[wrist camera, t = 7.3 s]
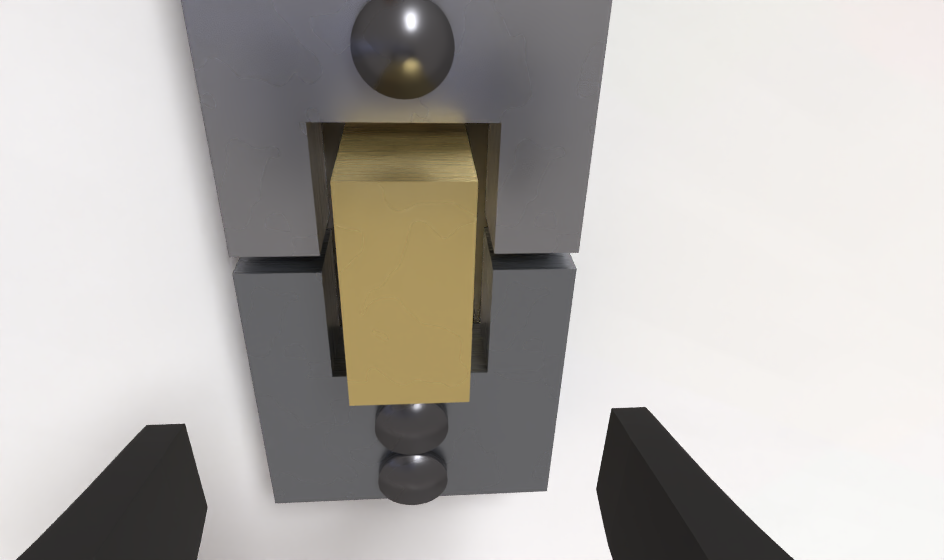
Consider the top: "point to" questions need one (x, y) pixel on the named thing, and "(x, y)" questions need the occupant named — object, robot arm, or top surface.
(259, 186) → the chain ends
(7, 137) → the top surface
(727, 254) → the top surface
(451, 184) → the brass rectangular block
